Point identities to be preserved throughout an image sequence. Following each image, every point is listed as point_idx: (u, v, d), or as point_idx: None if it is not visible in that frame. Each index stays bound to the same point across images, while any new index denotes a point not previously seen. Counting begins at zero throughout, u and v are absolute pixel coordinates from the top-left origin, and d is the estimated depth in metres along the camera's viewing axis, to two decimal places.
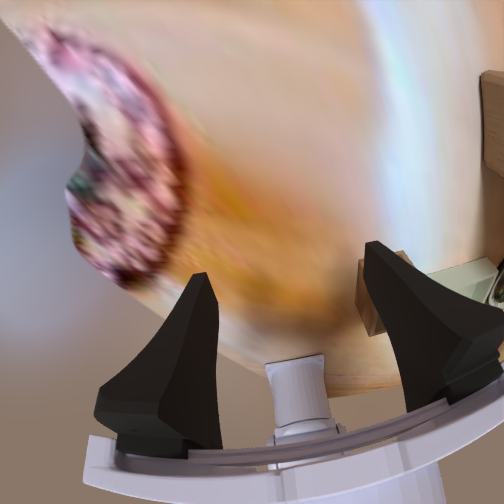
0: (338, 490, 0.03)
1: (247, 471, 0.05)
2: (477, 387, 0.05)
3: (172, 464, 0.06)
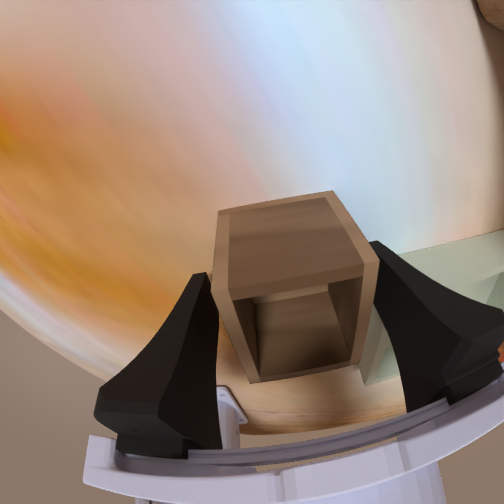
0: (338, 490, 0.03)
1: (247, 471, 0.05)
2: (477, 387, 0.05)
3: (172, 464, 0.06)
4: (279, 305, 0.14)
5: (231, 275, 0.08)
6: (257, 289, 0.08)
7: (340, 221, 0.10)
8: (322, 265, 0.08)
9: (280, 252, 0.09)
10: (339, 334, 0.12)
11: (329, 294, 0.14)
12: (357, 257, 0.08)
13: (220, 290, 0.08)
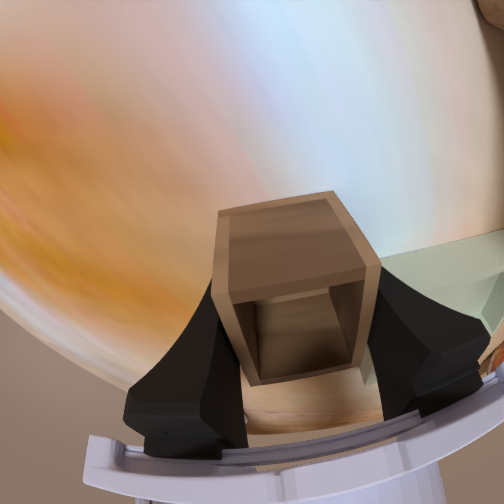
0: (338, 490, 0.03)
1: (247, 471, 0.05)
2: (452, 400, 0.05)
3: (172, 464, 0.06)
4: (279, 307, 0.14)
5: (231, 278, 0.08)
6: (258, 293, 0.08)
7: (341, 223, 0.09)
8: (324, 268, 0.08)
9: (281, 255, 0.09)
10: (340, 337, 0.12)
11: (330, 296, 0.14)
12: (359, 260, 0.08)
13: (220, 294, 0.08)
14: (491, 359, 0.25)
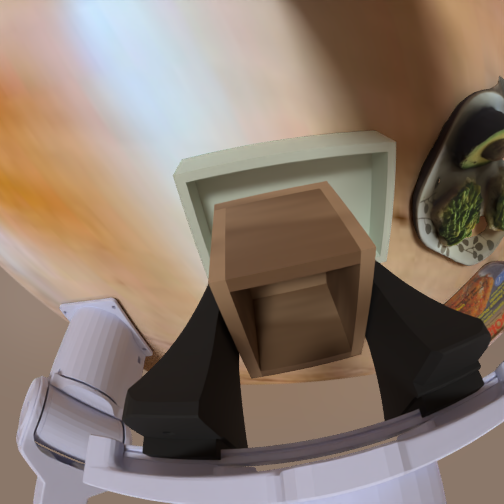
0: (338, 490, 0.03)
1: (247, 471, 0.05)
2: (453, 400, 0.05)
3: (172, 464, 0.06)
4: (278, 299, 0.14)
5: (228, 266, 0.08)
6: (255, 279, 0.08)
7: (335, 211, 0.10)
8: (319, 253, 0.08)
9: (276, 242, 0.09)
10: (339, 326, 0.12)
11: (328, 286, 0.14)
12: (353, 244, 0.08)
13: (217, 281, 0.08)
14: None
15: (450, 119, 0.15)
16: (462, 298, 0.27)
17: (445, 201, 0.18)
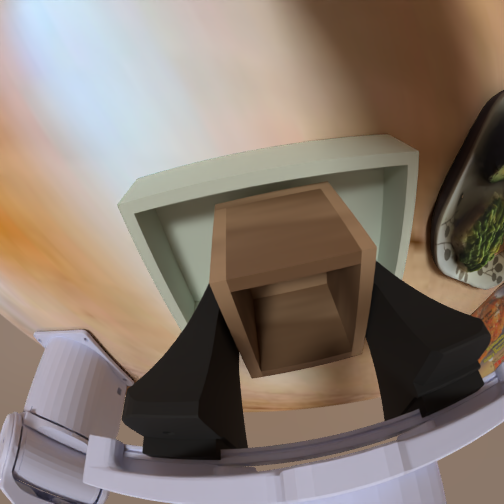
0: (338, 490, 0.03)
1: (247, 471, 0.05)
2: (453, 400, 0.05)
3: (172, 464, 0.06)
4: (278, 299, 0.14)
5: (229, 266, 0.08)
6: (256, 279, 0.08)
7: (336, 211, 0.10)
8: (319, 253, 0.08)
9: (277, 242, 0.09)
10: (340, 326, 0.12)
11: (328, 286, 0.14)
12: (354, 245, 0.08)
13: (218, 281, 0.08)
14: None
15: (479, 121, 0.11)
16: None
17: (470, 222, 0.14)
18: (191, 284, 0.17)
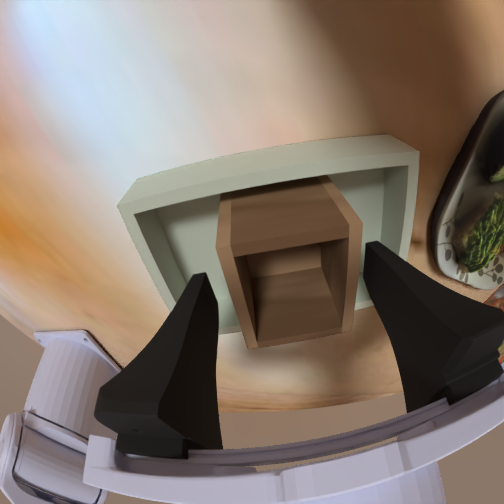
0: (338, 490, 0.03)
1: (247, 471, 0.05)
2: (477, 387, 0.05)
3: (172, 464, 0.06)
4: (275, 279, 0.16)
5: (233, 235, 0.10)
6: (256, 246, 0.09)
7: (329, 194, 0.11)
8: (312, 226, 0.09)
9: (276, 217, 0.10)
10: (331, 304, 0.13)
11: (322, 269, 0.15)
12: (343, 220, 0.09)
13: (223, 246, 0.09)
14: None
15: (479, 121, 0.11)
16: None
17: (471, 222, 0.14)
18: None
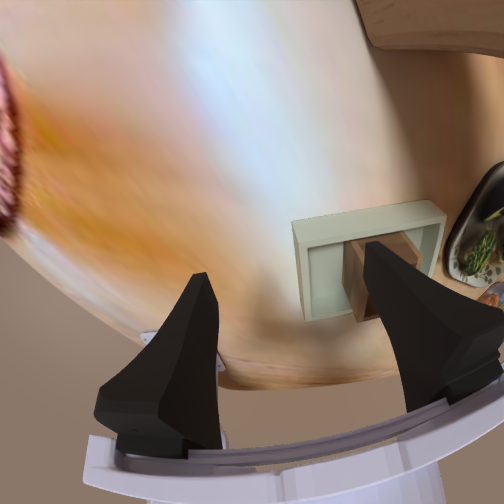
0: (338, 490, 0.03)
1: (247, 471, 0.05)
2: (477, 387, 0.05)
3: (172, 464, 0.06)
4: None
5: None
6: None
7: (404, 239, 0.20)
8: (403, 258, 0.18)
9: None
10: None
11: None
12: (415, 255, 0.18)
13: None
14: None
15: (480, 186, 0.20)
16: None
17: (470, 245, 0.23)
18: None
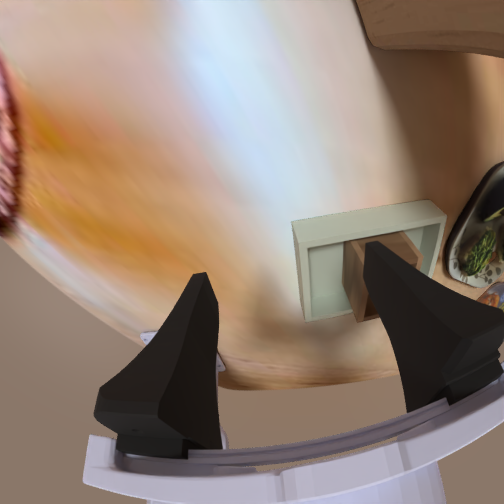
0: (338, 490, 0.03)
1: (247, 471, 0.05)
2: (477, 387, 0.05)
3: (172, 464, 0.06)
4: None
5: None
6: None
7: (404, 239, 0.20)
8: (403, 258, 0.18)
9: None
10: None
11: None
12: (415, 255, 0.18)
13: None
14: None
15: (480, 186, 0.20)
16: None
17: (470, 245, 0.23)
18: None
